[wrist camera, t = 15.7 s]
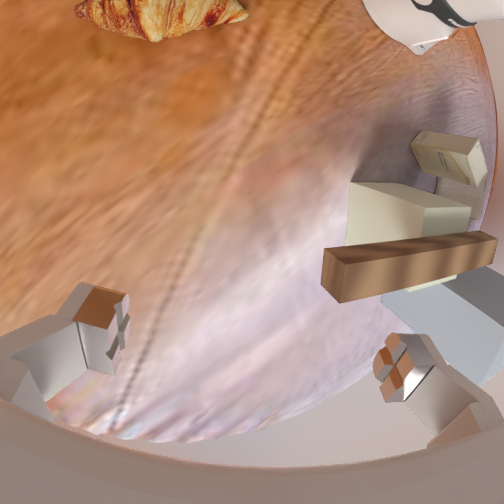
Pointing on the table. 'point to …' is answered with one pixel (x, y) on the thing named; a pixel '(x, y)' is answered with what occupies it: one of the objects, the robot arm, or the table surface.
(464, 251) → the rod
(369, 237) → the step block
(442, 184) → the washcloth
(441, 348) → the shelf stand
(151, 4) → the croissant
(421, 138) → the skincare box
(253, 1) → the table surface
